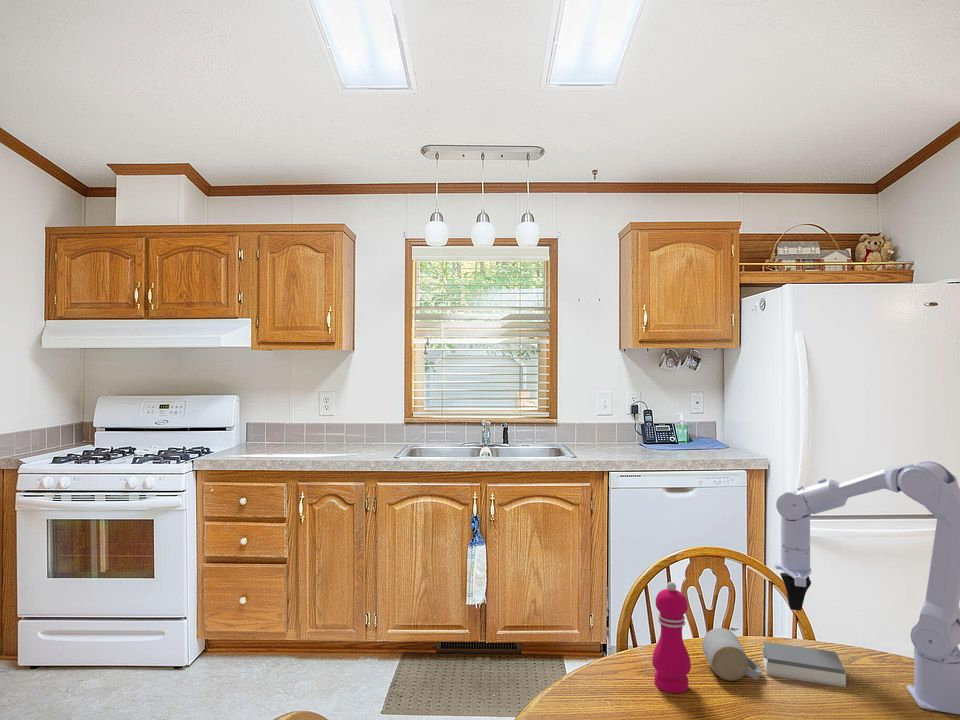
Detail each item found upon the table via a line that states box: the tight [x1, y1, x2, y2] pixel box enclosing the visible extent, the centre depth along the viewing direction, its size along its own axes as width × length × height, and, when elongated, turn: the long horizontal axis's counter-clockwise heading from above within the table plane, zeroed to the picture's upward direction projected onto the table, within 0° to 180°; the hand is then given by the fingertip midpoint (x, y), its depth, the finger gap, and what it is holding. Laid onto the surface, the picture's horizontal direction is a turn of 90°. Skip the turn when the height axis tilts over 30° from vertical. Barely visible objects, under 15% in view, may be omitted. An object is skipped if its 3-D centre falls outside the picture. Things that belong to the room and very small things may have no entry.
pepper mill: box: [651, 581, 692, 694], centre depth 119 cm, size 7×7×20 cm
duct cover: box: [763, 641, 846, 674], centre depth 124 cm, size 14×8×1 cm, turn 70°
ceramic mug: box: [701, 627, 763, 682], centre depth 123 cm, size 11×8×8 cm
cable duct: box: [762, 645, 847, 688], centre depth 124 cm, size 14×8×2 cm, turn 70°
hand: (795, 609), depth 133 cm, fingers closed
